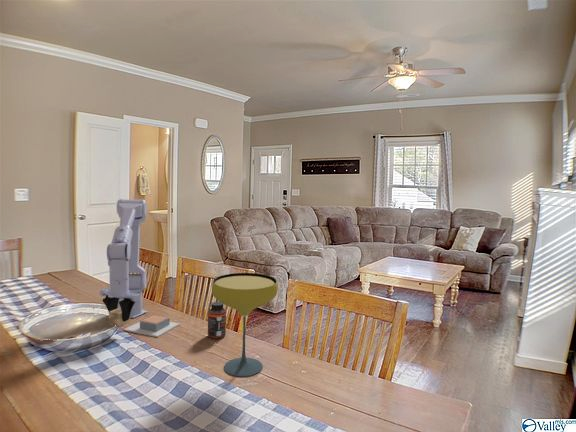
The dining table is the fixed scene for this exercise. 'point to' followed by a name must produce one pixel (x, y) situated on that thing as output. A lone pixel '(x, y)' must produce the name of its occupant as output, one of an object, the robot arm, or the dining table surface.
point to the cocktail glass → (244, 309)
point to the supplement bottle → (216, 321)
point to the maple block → (117, 318)
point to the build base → (150, 333)
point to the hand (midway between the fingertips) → (119, 319)
